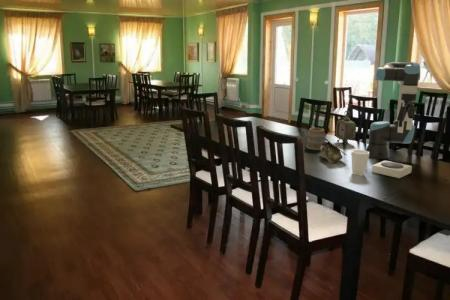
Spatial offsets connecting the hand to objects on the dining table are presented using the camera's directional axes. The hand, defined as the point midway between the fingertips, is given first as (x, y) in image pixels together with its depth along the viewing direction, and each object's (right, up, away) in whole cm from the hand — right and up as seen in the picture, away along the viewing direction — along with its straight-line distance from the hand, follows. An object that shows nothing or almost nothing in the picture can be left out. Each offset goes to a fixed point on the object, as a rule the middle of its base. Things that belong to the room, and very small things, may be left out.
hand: (404, 131), depth 221 cm
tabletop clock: (-10, -6, +79) cm, 80 cm away
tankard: (-36, -9, +66) cm, 75 cm away
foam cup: (-26, -24, +1) cm, 36 cm away
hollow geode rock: (-32, -17, +33) cm, 49 cm away
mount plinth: (-5, -23, +5) cm, 25 cm away
